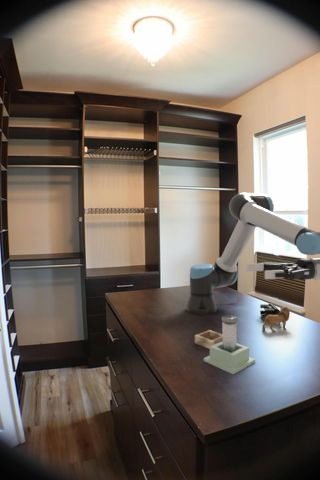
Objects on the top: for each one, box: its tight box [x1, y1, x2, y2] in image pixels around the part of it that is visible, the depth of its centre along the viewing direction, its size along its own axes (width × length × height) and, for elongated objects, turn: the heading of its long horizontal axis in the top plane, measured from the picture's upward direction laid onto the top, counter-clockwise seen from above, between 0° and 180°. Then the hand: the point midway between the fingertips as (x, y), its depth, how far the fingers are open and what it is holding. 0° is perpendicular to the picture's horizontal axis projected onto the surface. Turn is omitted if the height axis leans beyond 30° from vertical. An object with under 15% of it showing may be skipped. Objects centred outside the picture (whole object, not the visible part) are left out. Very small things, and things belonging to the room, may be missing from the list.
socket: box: [203, 342, 256, 375], centre depth 106 cm, size 12×12×5 cm
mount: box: [194, 329, 222, 350], centre depth 121 cm, size 9×9×3 cm
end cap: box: [259, 302, 280, 324], centre depth 147 cm, size 10×7×7 cm
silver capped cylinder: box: [221, 314, 239, 353], centre depth 106 cm, size 5×5×15 cm
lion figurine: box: [261, 306, 291, 333], centre depth 135 cm, size 15×5×9 cm, turn 118°
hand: (255, 271), depth 112 cm, fingers open, 13 cm apart
